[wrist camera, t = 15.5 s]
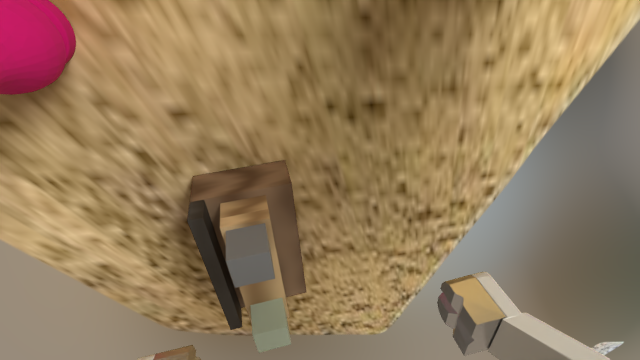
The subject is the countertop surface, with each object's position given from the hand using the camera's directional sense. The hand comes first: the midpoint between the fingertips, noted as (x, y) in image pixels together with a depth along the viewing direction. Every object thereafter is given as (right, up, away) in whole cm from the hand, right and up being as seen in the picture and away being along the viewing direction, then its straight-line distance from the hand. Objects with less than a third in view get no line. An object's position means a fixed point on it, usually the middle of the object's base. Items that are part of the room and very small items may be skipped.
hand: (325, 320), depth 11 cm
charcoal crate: (-8, -2, +24) cm, 26 cm away
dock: (-9, -2, +35) cm, 37 cm away
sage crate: (-7, -12, +32) cm, 35 cm away
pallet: (-8, -5, +31) cm, 33 cm away
